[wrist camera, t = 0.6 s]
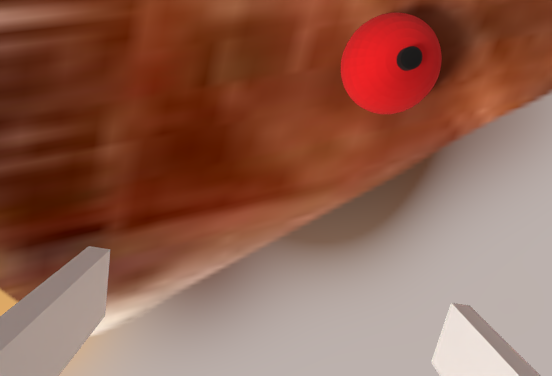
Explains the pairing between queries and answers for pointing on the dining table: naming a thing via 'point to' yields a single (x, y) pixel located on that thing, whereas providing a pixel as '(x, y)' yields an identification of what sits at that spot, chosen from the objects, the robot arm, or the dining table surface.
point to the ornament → (391, 63)
